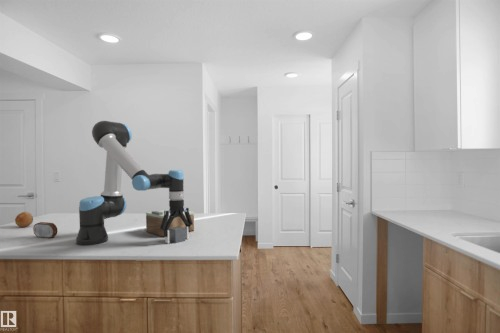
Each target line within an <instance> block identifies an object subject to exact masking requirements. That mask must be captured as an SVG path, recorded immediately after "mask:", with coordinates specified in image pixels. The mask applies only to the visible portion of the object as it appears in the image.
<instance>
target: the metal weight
mask: <svg viewBox="0 0 500 333" xmlns="http://www.w3.org/2000/svg"><path fill="white" fill-rule="evenodd" d="M183 242H186V238H185V228H183V227H179V226H178V227H173V228H169V243H172V244H179V243H183Z"/></svg>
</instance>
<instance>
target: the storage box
mask: <svg viewBox="0 0 500 333" xmlns="http://www.w3.org/2000/svg"><path fill="white" fill-rule="evenodd" d="M194 216H195V215H194V214H192V215H190V217H191V220H192V223H193V224H192V225H191V226H190V227H189V232H188V233H192V232H195V217H194ZM185 218H186V216H185ZM168 219H169V218H168ZM162 220H163V219H162V218H157V217H153V216H148V215H146V214H145V222H146V224H145V225H146V228H145V229H146V232H145V233H148V234H152V235H155V236H158V237H162V238H165V237H164V230H161V229H160V227H161V224H162ZM167 221H168V220H167ZM178 226H179V227H183V228H184V226H186V225H185V224H184V222H183V221H182V219H181V218H180V217H176V218H174V219H173V221H172V223H171V225H170V227H169V228H173V227H178ZM168 230H169V229H168Z"/></svg>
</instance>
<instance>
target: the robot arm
mask: <svg viewBox="0 0 500 333" xmlns="http://www.w3.org/2000/svg"><path fill="white" fill-rule="evenodd" d="M91 135H92V139H93V140H94V142H95V143H96V144H97V145H98V147H100V148H102V149H104V150H105V151H106V159H105V172H104V183H103V184H104V186H103V191H102V192H101V193H100V195H99V196H97V195H95V196H89V197H88V196H87V197H85V198H82V199H80V201H79V204H78V206H79V207H78V212H79V213H78V214H79V230H78V233H77V236H76V239H75V243H76V245H79V246H80V245H81V246H91V245H98V244H102V243H106V242H107V241H108V240H109V235H108V231H107V230H106V227H105V220H107V219H110V218H116V217H118V216H120V215H122V214H123V213H125V211H126V209H127V200H126V198H125V197H124V193H123V192H121V188H122V187H121V186H122V173H123V171H124V173H126V175H127V176H129V178H130V179H131V185H132V187H133V189H134V190H136V191H142V192H143V191H148V190H154V189H155V190H157V189H168V199H169V201H168V206H169V209H170V210H168V211H166V210H167V209H164V210H165V211H164V217H163V220H162V224H161V227H160V229H161V230H164V237H163V238H165V241H164V242H165V244H170V241H169V230H168V229H169V227H170V225H171V223H172V221H173V219H174V218H176V217H180V218H181V219H182V221H183V222H184V224H185V225H186V226H184V228H185V240H188V239H190V238H189V236H190V235H189V233H190V232H189V227H190V226H191V225H192V224H193V223H192V220H191V217H190V214H189V211H190V210H189V207H184V206H185V203H184V202H185V201H184V197H185V194H184V192H185V191H184V180H185V179H184V171H183V170H182V169H176V170H175V169H173V170H172V169H171V170H169V171H168V173H151V174H149V173H147V172H146V170H145V169H144V168H143V167H142V166H141V165H140V164H139V162H137V161H136V160H135V158H134V157H133V156H132V155H131V154H130V152H128V151H127V150H126V149H127V145H128V143H129V142H131V140H132V135H133V134H132V130H131V128H130V127H129V126H128V125H127V124H125V123H122V122H114V121H108V120H100V121H98V122H96V123H95V124H94V125H93V127H92V130H91ZM183 211H184V213H185V216H186V218H185V216H184V214H183ZM169 213H170V216H169ZM168 216H169V219H168ZM167 220H168V221H167Z"/></svg>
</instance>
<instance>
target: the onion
mask: <svg viewBox="0 0 500 333" xmlns="http://www.w3.org/2000/svg"><path fill="white" fill-rule="evenodd" d="M14 220H15V221H14V222H15V223H14V224H15V225H16V226H18V227H20V228H27V227H30V225H32V223H33V222H34V217H33V215H32V214H31V213H30V212H28V211H22V212H20V213H19V214H17V215H16V216H15V218H14Z"/></svg>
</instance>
